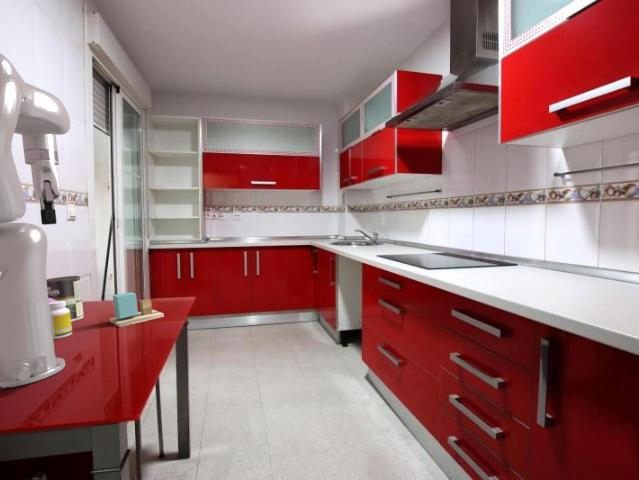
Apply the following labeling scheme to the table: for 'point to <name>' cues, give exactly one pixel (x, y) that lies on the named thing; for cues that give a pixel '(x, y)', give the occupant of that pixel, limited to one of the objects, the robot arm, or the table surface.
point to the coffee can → (67, 294)
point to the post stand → (139, 315)
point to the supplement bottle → (60, 319)
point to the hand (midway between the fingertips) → (49, 224)
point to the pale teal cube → (125, 305)
